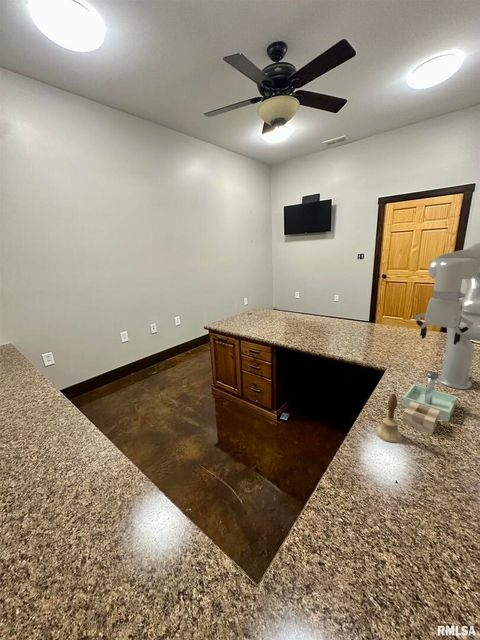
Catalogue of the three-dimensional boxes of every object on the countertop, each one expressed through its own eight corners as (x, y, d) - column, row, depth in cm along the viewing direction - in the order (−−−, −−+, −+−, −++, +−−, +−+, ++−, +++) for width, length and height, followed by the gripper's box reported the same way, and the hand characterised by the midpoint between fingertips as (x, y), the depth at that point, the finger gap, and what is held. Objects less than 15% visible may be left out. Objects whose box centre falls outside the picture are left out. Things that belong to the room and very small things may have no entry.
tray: (412, 392, 113) (413, 384, 112) (455, 405, 103) (457, 396, 101) (401, 405, 104) (402, 397, 103) (448, 422, 94) (449, 412, 93)
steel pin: (423, 399, 106) (428, 370, 103) (434, 403, 103) (439, 373, 100) (421, 403, 104) (425, 373, 100) (432, 407, 101) (437, 376, 97)
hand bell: (404, 433, 90) (410, 392, 85) (399, 446, 84) (404, 404, 80) (379, 423, 95) (382, 385, 91) (371, 435, 89) (375, 395, 85)
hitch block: (409, 412, 100) (411, 400, 99) (438, 422, 94) (440, 410, 92) (402, 423, 95) (403, 411, 93) (431, 434, 88) (433, 422, 87)
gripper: (479, 296, 88) (470, 342, 92) (420, 292, 100) (414, 333, 105) (476, 299, 83) (467, 349, 87) (414, 295, 95) (409, 338, 100)
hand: (438, 340), depth 96 cm, fingers open, 9 cm apart
